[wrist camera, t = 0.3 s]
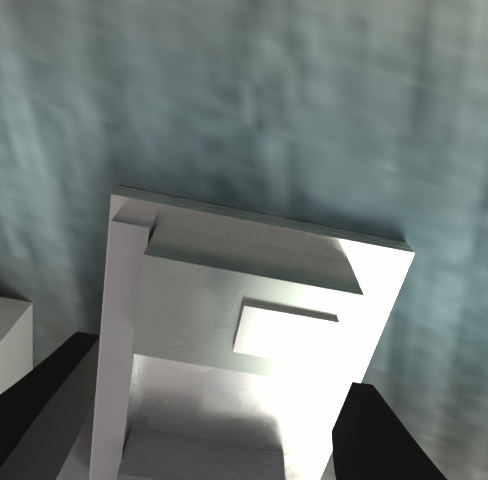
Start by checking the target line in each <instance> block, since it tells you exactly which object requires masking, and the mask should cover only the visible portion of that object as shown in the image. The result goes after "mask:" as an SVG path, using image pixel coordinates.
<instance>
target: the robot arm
mask: <svg viewBox="0 0 488 480" xmlns="http://www.w3.org/2000/svg"><path fill="white" fill-rule="evenodd" d="M99 342H100V336H99V335H94V334H88V333H82V332H76V333H75V334H73V335H72V336H71V337H70V338H69V339H68V340H67V341H65V342H64V343H63V344H62V345H61V346H60V347H59V348H58V349H56V350H55V351H54V352H53V353H52V354H51V355H49V356H48V357H47V358H46V359H45V360H44V361H42V362H41V363H40V364H39V365H37V366H36V367H35V368H34V369H33V370H31V371H30V372H29V373H28V374H26V375H25V376H24V377H23V378H21V379H20V380H19V381H17V382H16V383H15V384H14V385H12V386H11V387H9V388H8V389H7V390H5V391H4V392H3V393H1V394H0V480H56V478H57V476H58V474H59V472H60V470H61V468H62V466H63V464H64V462H65V460H66V458H67V456H68V454H69V452H70V450H71V448H72V446H73V444H74V442H75V440H76V438H77V436H78V434H79V432H80V430H81V428H82V425H83V423H84V420H85V417H86V415H87V412H88V409H89V407H90V404H91V401H92V398H93V395H94V393H95V386H96V375H97V364H98V353H99ZM331 435H332V450H333V461H334V470H335V475H336V480H447V479H446V478H445V476H444V475H443V474H442V473H441V472H440V471H439V469H438V468H437V467H436V466H435V465H434V464H433V462H432V461H431V460H430V459H429V458H428V456H427V455H426V454H425V453H424V451H423V450H422V449H421V448H420V446H419V445H418V444H417V443H416V441H415V440H414V439H413V437H412V436H411V435H410V434H409V432H408V431H407V430H406V428H405V427H404V426H403V424H402V423H401V422H400V420H399V419H398V418H397V416H396V415H395V414H394V412H393V411H392V410H391V408H390V407H389V406H388V404H387V403H386V402H385V400H384V399H383V398H382V396H381V395H380V394H379V392H378V391H377V390H376V388H375V387H374V386H373V385H370V384H364V383H359V382H353V381H352V383H351V386H350V388H349V390H348V393H347V395H346V398H345V400H344V402H343V405H342V407H341V410H340V412H339V414H338V417H337V419H336V422H335V424H334V426H333V429H332V431H331Z"/></svg>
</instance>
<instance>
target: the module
mask: <svg viewBox="0 0 488 480" xmlns="http://www.w3.org/2000/svg"><path fill="white" fill-rule="evenodd" d="M31 370H33V308H32V302H27V301H21V300H15V299H10V298H4V297H0V394H1V393H3V392H4V391H5V390H7V389H8V388H9V387H11V386H12V385H14V384H15V383H16V382H17V381H19V380H20V379H21V378H23V377H24V376H25V375H26V374H28V373H29V372H30V371H31Z"/></svg>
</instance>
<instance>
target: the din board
mask: <svg viewBox="0 0 488 480" xmlns="http://www.w3.org/2000/svg"><path fill="white" fill-rule="evenodd" d="M414 254H415V253H414V252H413V250H412V249H411V248H410V246H409V245H408V244H407V242H404V241H399V240H393V239H388V238H383V237H378V236H373V235H368V234H363V233H358V232H353V231H348V230H343V229H338V228H332V227H327V226H322V225H317V224H312V223H307V222H302V221H297V220H292V219H287V218H282V217H277V216H272V215H266V214H261V213H256V212H251V211H246V210H241V209H236V208H231V207H226V206H221V205H216V204H211V203H205V202H200V201H195V200H190V199H185V198H180V197H175V196H170V195H165V194H160V193H155V192H150V191H144V190H139V189H134V188H129V187H124V186H119V185H118V187H117V188H116V189H115V190H114V191H113V192H112V193H111V200H110V213H109V226H108V239H107V252H106V265H105V279H104V292H103V305H102V318H101V331H100V344H99V357H98V370H97V383H96V396H95V409H94V422H93V435H92V448H91V461H90V475H89V480H320V478H321V476H322V473H323V471H324V469H325V466H326V464H327V462H328V459H329V457H330V454H331V452H332V435H331V431H332V429H333V426H334V424H335V422H336V419H337V417H338V414H339V412H340V410H341V407H342V405H343V402H344V400H345V398H346V395H347V393H348V390H349V388H350V386H351V383H352V381H353V382H359V383H361V380H362V378H363V376H364V373H365V371H366V368H367V366H368V364H369V361H370V359H371V356H372V354H373V352H374V349H375V347H376V344H377V342H378V340H379V337H380V335H381V332H382V330H383V328H384V325H385V323H386V321H387V318H388V316H389V313H390V311H391V309H392V306H393V304H394V301H395V299H396V297H397V294H398V292H399V289H400V287H401V285H402V282H403V280H404V278H405V275H406V273H407V270H408V268H409V266H410V263H411V261H412V258H413V256H414Z"/></svg>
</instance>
